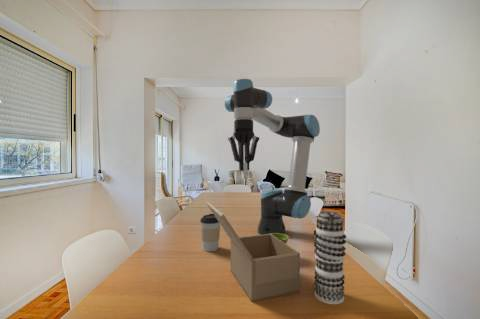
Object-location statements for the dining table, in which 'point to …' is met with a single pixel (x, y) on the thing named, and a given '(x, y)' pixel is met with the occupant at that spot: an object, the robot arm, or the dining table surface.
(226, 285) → the dining table surface
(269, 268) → the carton
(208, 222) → the coffee cup
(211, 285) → the dining table surface
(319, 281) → the decorative candle
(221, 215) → the flap
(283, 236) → the plant pot
